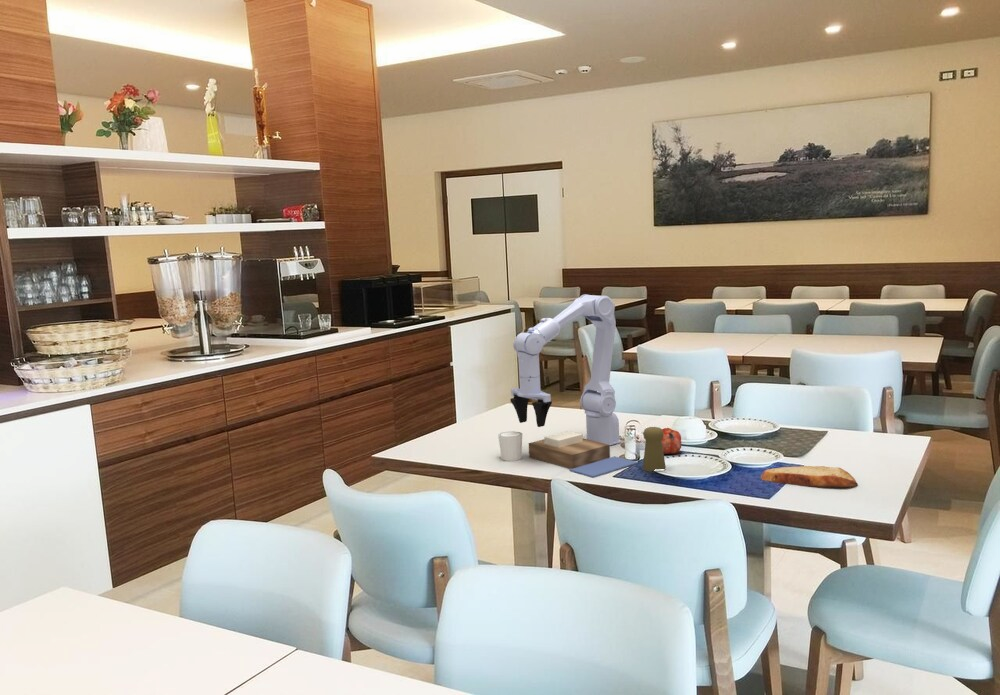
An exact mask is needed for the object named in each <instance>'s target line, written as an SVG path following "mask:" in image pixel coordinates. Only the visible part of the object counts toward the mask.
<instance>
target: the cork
mask: <svg viewBox="0 0 1000 695" xmlns="http://www.w3.org/2000/svg"><path fill="white" fill-rule="evenodd" d="M662 429H663V428H661V427H658V426H647V427H646V428H645V429H644V430H643V439H644V440H645V442H644V445H645V446H644V453H643V460H642V461H643V463H642V470H643V471H646V472H650V473H652V471H653V473H655V472H654V470H655V469H665V468H666V469H667V467H666V460H665V454H664V453H663V447H662V439H663V430H662ZM666 469H665V470H666Z"/></svg>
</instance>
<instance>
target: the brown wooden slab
mask: <svg viewBox="0 0 1000 695" xmlns="http://www.w3.org/2000/svg"><path fill="white" fill-rule="evenodd" d="M610 448H611V445H610V444H605V443H601V442H597V441H593V440H588V439H587V438H584V437H583V441H582V442H578V443H575V444H571V445H567V446H564V447H560V448H558V447H554V446H550V445H547V444H545V442H544V439H540V440H536V441H534V442H533V441H531V442H528V457H529V458H531V459H535V460H538V461H542V462H546V463H548V464H552V465H556V466H560V467H564V468H566V469H569V470H570V469H573V468H577V467H580V466H583V465H587V464H590V463H594V462H597V461H600V460H604V459H607V458H610V457H611V450H610Z"/></svg>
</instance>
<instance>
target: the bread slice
mask: <svg viewBox="0 0 1000 695" xmlns="http://www.w3.org/2000/svg"><path fill="white" fill-rule="evenodd" d="M761 479H762V480H761ZM760 480H761V481H763V480H765V481H764V482H769V481H771V482H770V483H775V482H777V483H776V484H782V483H783V484H784V485H792V486H793V485H794V486H800V487H801V486H802V487H809V488H810V487H811V488H812V487H813V488H814V487H815V488H816V487H817V488H829V489H833V488H835V489H839V488H840V489H850V488H854V487H858V486H859V484H858V482H857V480H856V478H854V476H852V475H851V473H849V472H848V471H846V470H845V469H843V468H841V467H833V466H831V467H830V466H824V465H815V466H814V465H808V466H807V465H801V466H785V467H783V466H782V467H781V466H780V467H777V468H776V467H775V468H768V469H765V470H764V471H763V472H762V473H761V475H760Z"/></svg>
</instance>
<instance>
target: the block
mask: <svg viewBox="0 0 1000 695" xmlns="http://www.w3.org/2000/svg"><path fill="white" fill-rule="evenodd" d="M583 438H584V437H583V434H582V433H577V432H574V431H568V430H566V431H563V432H558V433H555V434H550V435H547V436H544V442H545V444H547V445H550V446H554V447H558V448H560V447H564V446H567V445H571V444H575V443H578V442H582V441H583Z"/></svg>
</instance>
